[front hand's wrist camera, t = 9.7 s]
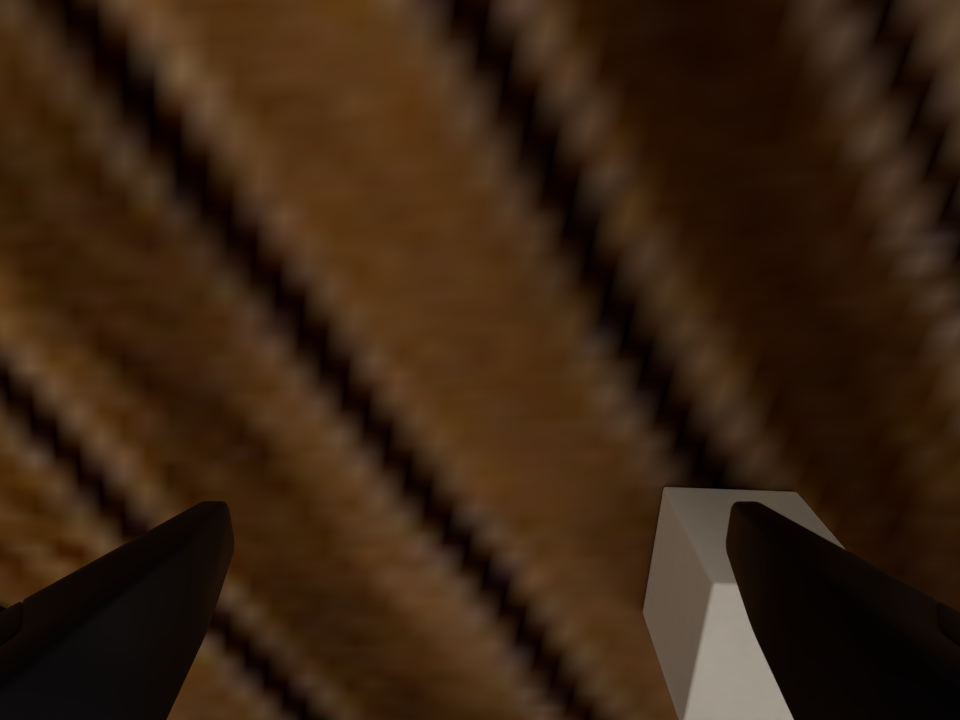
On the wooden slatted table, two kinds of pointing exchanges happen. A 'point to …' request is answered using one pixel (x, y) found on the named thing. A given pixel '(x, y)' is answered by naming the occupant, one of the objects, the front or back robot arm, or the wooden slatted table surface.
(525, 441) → the wooden slatted table surface
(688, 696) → the block
